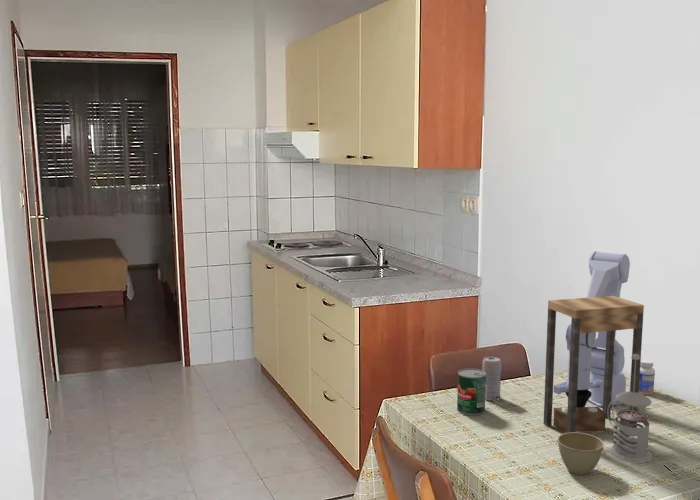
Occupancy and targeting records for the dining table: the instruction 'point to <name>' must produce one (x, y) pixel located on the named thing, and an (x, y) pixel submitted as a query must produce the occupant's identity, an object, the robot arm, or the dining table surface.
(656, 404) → the dining table surface
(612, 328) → the wood and metal stand
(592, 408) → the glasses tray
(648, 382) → the pill bottle
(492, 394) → the energy drink
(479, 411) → the canned tomato
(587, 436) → the flower pot
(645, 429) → the french press
